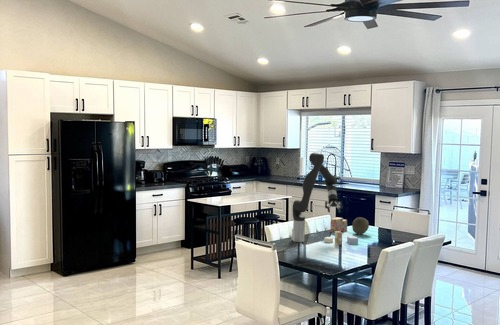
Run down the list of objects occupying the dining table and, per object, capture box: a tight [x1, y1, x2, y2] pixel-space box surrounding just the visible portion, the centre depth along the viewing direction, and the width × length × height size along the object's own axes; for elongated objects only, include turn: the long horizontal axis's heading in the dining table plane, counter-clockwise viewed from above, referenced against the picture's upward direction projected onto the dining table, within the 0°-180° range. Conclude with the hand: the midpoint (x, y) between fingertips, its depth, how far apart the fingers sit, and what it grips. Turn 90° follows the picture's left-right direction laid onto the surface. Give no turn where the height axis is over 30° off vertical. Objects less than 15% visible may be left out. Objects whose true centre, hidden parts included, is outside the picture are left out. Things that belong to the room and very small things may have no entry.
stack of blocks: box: [329, 216, 348, 234], centre depth 434 cm, size 21×6×12 cm, turn 143°
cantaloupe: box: [351, 216, 370, 235], centre depth 422 cm, size 14×14×15 cm
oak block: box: [334, 231, 343, 246], centre depth 381 cm, size 4×4×10 cm
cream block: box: [323, 236, 334, 243], centre depth 389 cm, size 5×5×4 cm
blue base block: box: [346, 235, 359, 245], centre depth 386 cm, size 7×7×5 cm
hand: (334, 212), depth 393 cm, fingers open, 8 cm apart
